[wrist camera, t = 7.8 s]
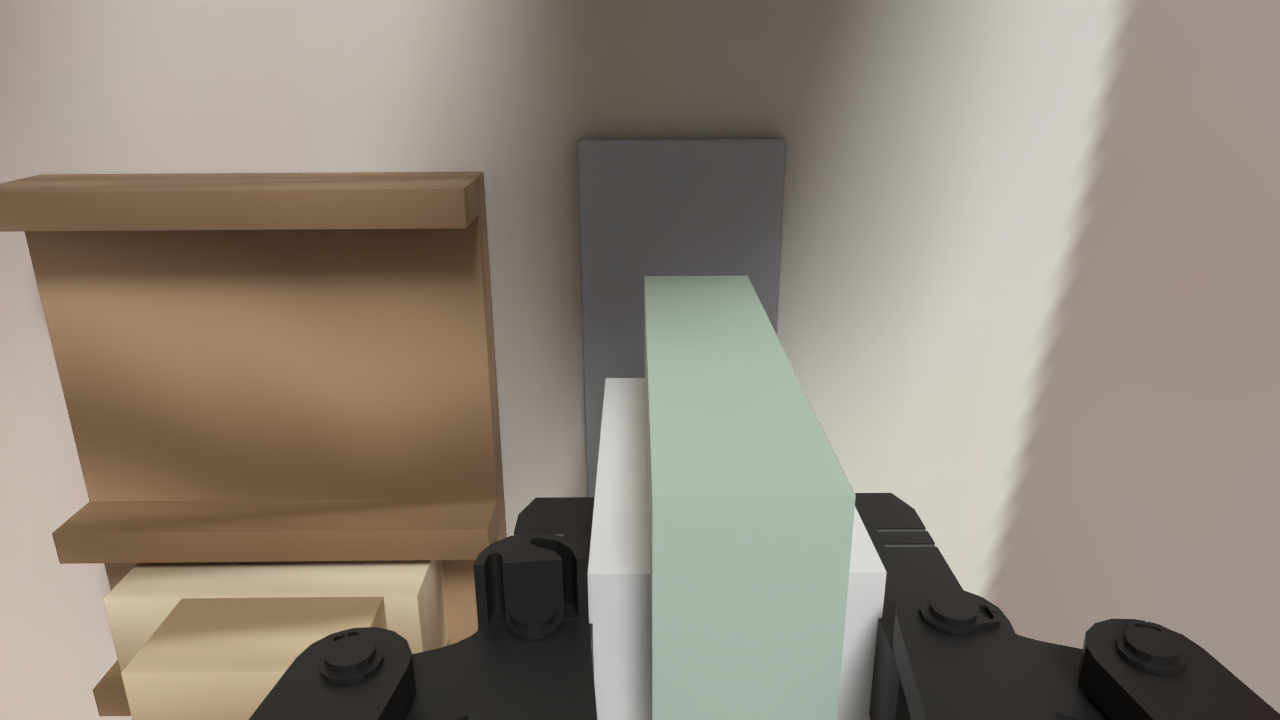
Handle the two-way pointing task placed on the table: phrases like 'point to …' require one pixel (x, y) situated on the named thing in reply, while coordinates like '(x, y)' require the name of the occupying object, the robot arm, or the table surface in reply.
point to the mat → (668, 239)
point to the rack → (272, 369)
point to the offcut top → (232, 652)
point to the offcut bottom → (280, 594)
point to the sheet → (739, 514)
